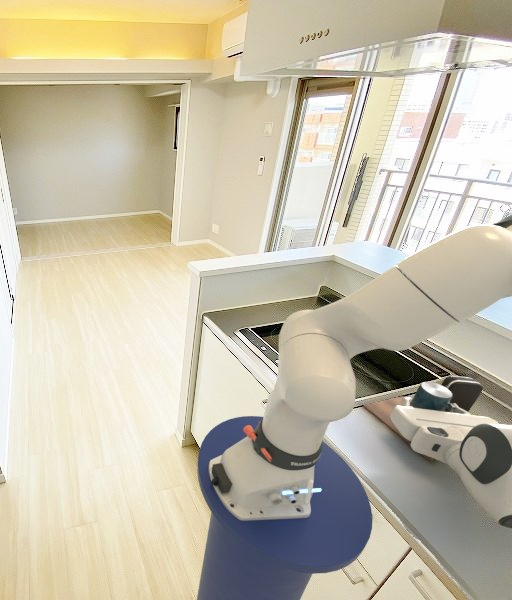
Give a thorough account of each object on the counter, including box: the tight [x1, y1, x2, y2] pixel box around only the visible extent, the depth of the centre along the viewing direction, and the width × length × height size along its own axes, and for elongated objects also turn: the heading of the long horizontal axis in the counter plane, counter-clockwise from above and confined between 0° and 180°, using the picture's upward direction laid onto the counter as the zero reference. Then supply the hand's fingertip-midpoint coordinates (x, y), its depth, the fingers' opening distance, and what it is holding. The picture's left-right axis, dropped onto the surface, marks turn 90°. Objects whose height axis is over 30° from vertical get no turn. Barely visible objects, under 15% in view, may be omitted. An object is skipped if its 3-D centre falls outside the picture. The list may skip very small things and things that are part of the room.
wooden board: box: [363, 395, 438, 462], centre depth 86 cm, size 14×18×1 cm
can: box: [411, 381, 453, 412], centre depth 83 cm, size 6×6×12 cm
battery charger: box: [440, 375, 484, 413], centre depth 88 cm, size 7×4×11 cm, turn 77°
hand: (427, 401), depth 83 cm, fingers open, 8 cm apart
